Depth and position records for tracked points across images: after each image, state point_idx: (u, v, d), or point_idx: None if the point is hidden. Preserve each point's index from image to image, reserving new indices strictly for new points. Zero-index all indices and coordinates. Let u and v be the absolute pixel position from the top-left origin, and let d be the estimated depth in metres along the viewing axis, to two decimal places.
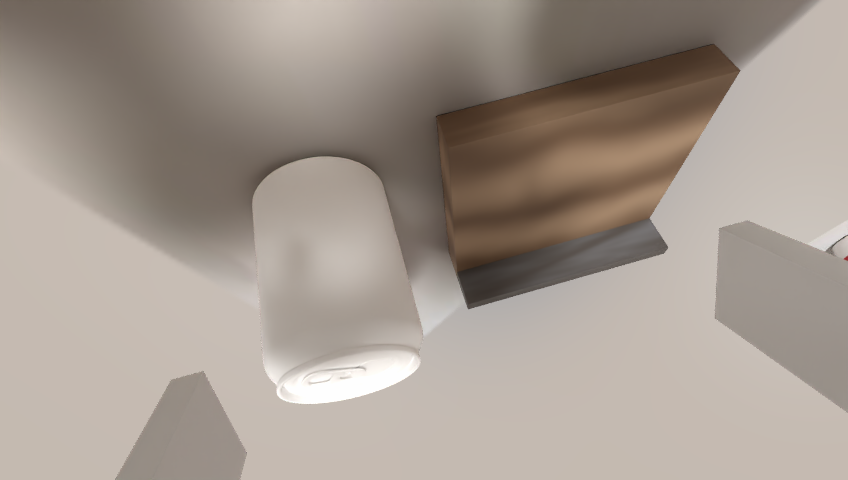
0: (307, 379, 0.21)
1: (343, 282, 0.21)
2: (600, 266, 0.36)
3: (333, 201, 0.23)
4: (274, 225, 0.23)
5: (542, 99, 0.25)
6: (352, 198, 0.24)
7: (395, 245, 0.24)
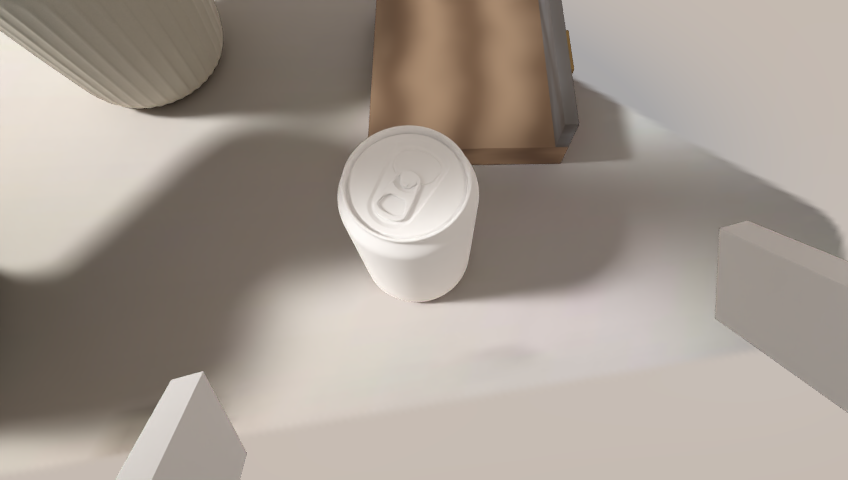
0: (379, 211, 0.24)
1: None
2: (550, 10, 0.37)
3: None
4: None
5: None
6: None
7: None
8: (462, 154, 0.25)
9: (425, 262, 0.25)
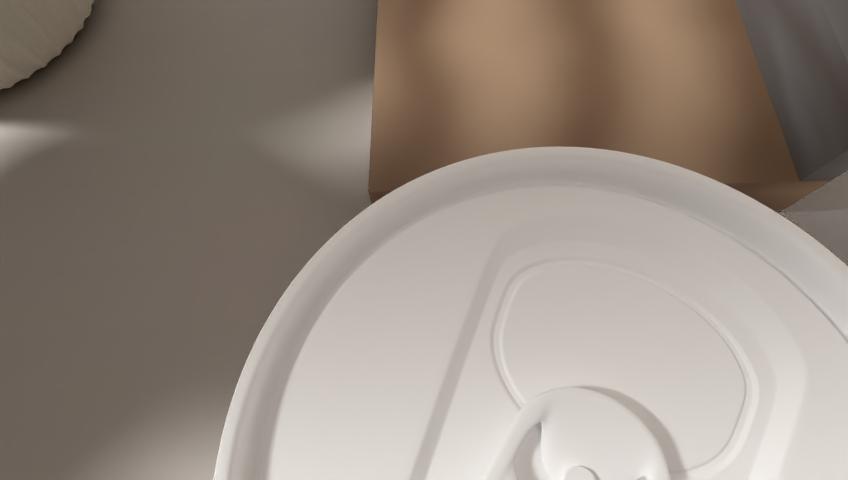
0: None
1: None
2: None
3: None
4: None
5: None
6: None
7: None
8: None
9: None
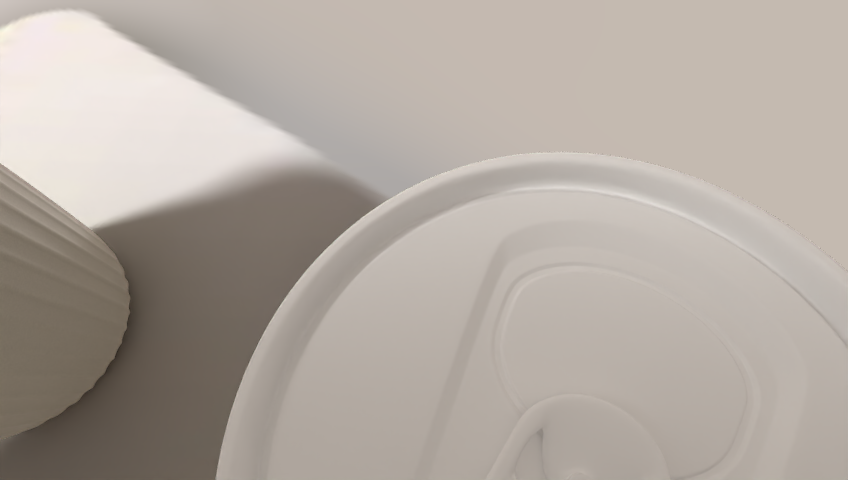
0: None
1: None
2: None
3: None
4: None
5: None
6: None
7: None
8: None
9: None
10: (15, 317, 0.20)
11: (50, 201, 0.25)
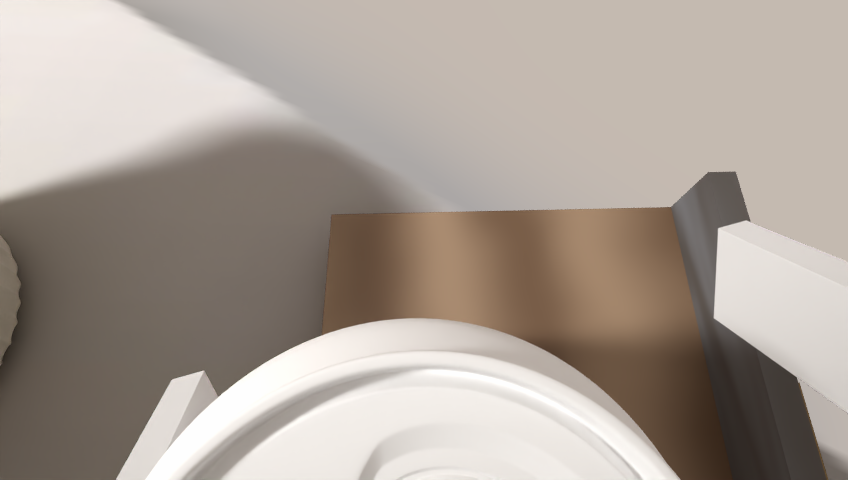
0: None
1: None
2: None
3: None
4: None
5: None
6: None
7: None
8: None
9: None
10: None
11: None
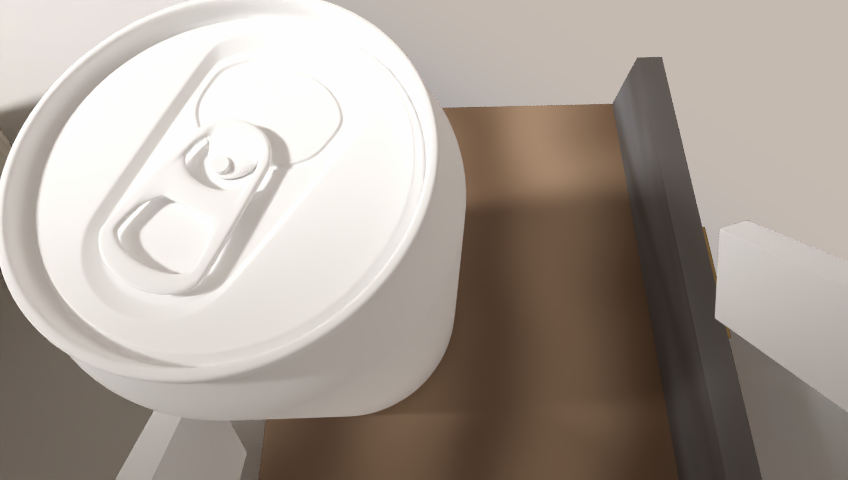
0: (113, 260, 0.07)
1: None
2: (664, 181, 0.17)
3: None
4: None
5: None
6: None
7: None
8: (410, 68, 0.08)
9: (297, 412, 0.08)
10: None
11: None
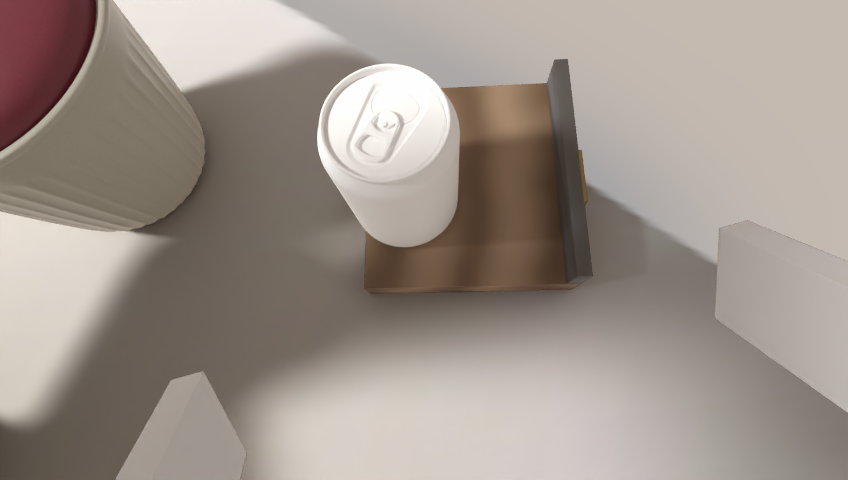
0: (358, 153, 0.24)
1: None
2: (562, 127, 0.33)
3: None
4: None
5: None
6: None
7: None
8: (441, 91, 0.24)
9: (407, 203, 0.25)
10: (149, 119, 0.30)
11: None
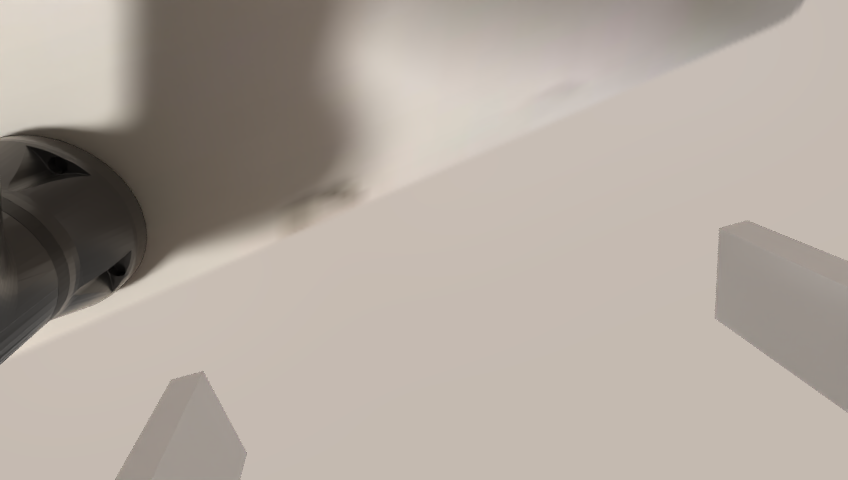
0: None
1: None
2: None
3: None
4: None
5: None
6: None
7: None
8: None
9: None
10: None
11: None
